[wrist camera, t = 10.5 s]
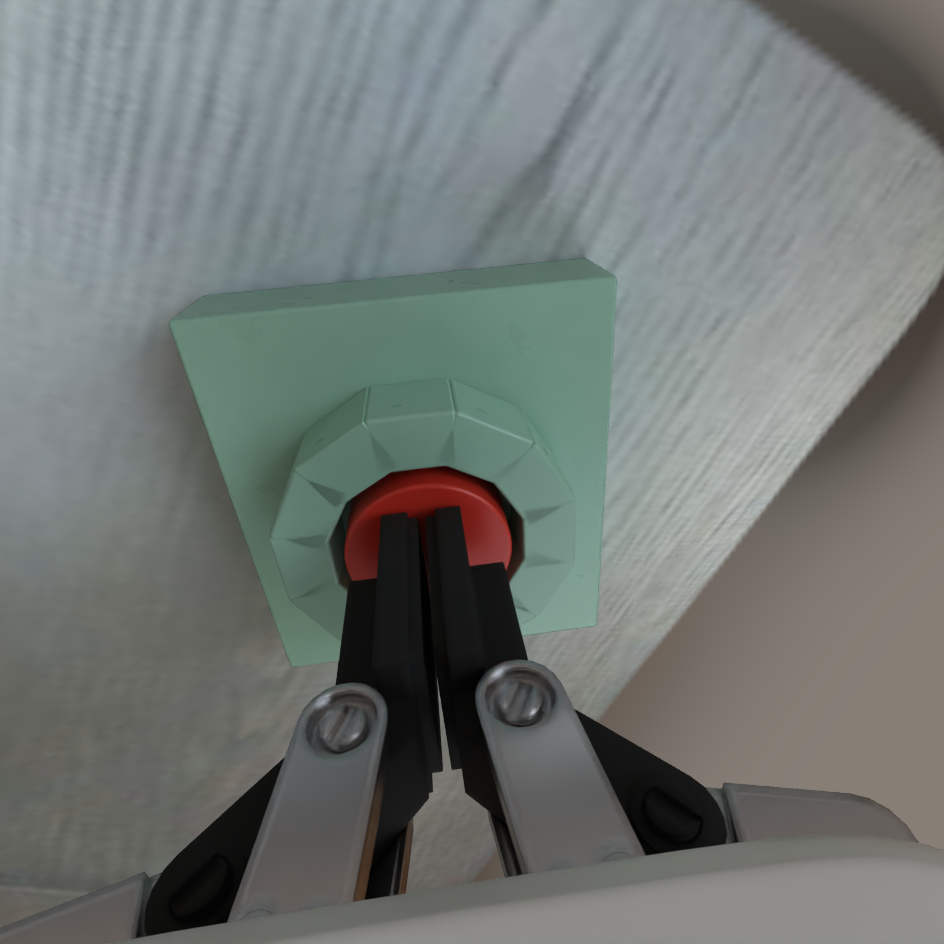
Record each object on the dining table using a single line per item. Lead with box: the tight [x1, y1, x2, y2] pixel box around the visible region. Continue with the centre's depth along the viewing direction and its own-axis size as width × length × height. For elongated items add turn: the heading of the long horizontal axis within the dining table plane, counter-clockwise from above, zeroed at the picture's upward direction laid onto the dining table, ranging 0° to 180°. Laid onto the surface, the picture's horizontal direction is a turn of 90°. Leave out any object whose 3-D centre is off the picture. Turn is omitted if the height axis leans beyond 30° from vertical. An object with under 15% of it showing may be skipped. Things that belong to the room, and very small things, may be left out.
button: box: [344, 466, 512, 600], centre depth 13 cm, size 4×4×2 cm
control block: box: [169, 258, 617, 667], centre depth 14 cm, size 10×9×4 cm
